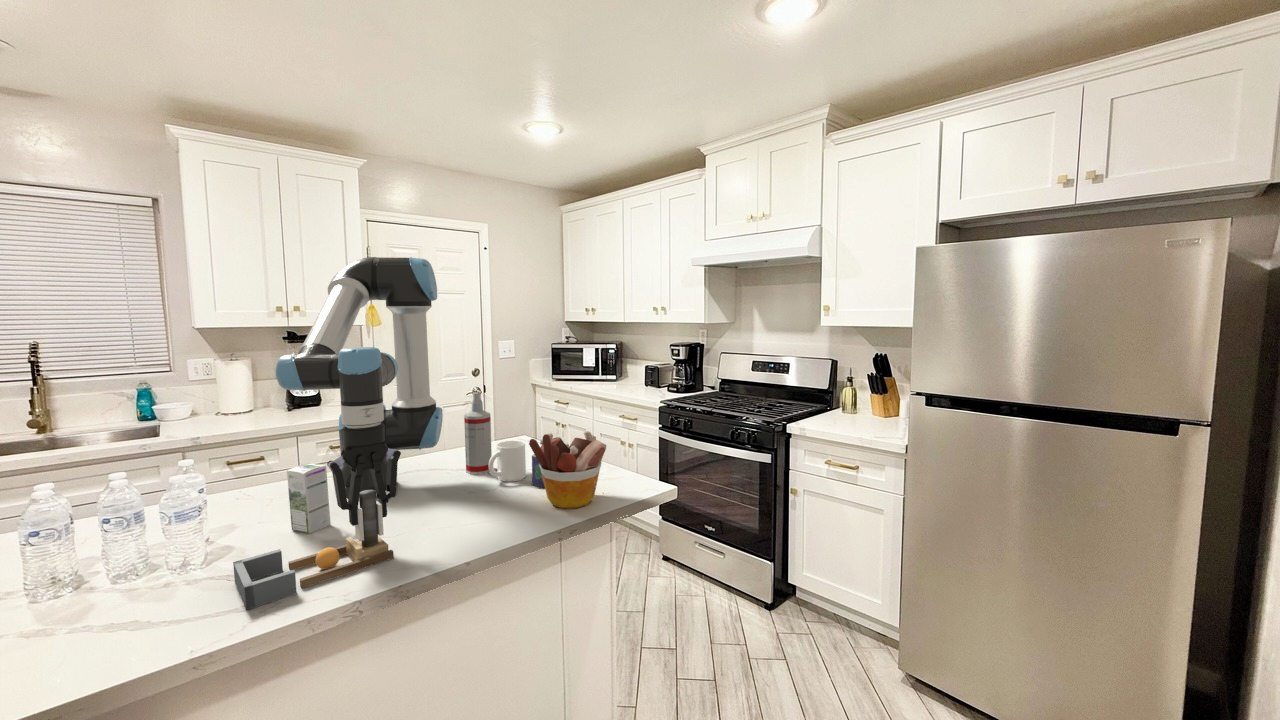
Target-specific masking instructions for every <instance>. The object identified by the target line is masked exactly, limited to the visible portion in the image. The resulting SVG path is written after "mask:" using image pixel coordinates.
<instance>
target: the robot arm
mask: <svg viewBox="0 0 1280 720" xmlns="http://www.w3.org/2000/svg"><path fill="white" fill-rule="evenodd" d="M436 280H437V279H436V276H435V272H434V269H433V267H432V264H431V263H430V261H429V260H427V259H426V258H420V257H412V256H411V257H376V256H370V257H363V258H360V259H357V260H355V261H353V262H350V263H349V264H347V265H346V266H344V267H343V268H342V269H340V270H339V271H338V272H337V273H335V275H334V276H333V278H331V281H330V283H329V285H328V286H327V295H328V296H327V298H326V300H325V302H324V303H323V305H322V307H321V309H320V311H319V313H318V315H317V316H316V319H315V321H314V323H313V324H312V327H311V328H310V331H309V332H308V334H307V336H306V337H305V340H304V342H303V343H302V345H301V347H300V349H299V351H298V352H297V354H294V353H292V354H285V355H283V356H280V357H279V359H278V360H277V362H276V365H275V377H276V380H277V384H278V385H279V387H281V388H282V389H284V390H287V391H289V390H290V391H312V390H314V391H315V390H319V391H320V390H336V389H337V390H339V394H340V395H339V396H340V415H339V416H338V428H337V430H338V437H339V451H340V456H339V457H337V458H336V459H334V460H329V461H327V464H326V465H327V467H328V468H329V470H330V471H331V474H332V480H333V486H334V493H335V498H336V502H337V503H336V504H337V506H338V507H339V509H341V510H342V511H345V510H347V511H348V517H349V518H348V519H349V521H348V522H349V524H350V525H351V526H352V527H354V531H355V538H356V539H357V541H364V530H363V512H362V509H361V508H360V503H359V495H360V492H361V491H365V490H375V491H376V509H377V527H378V536H379V537H380V536H383V535H384V518H387V516H388V503H389V500H390V499H392V498H393V499H394V498H395V497H396V496H397V487H398V486H397V484H398V464H399V463H398V462H399V459H400V457H401V455H402V452H401V451H406V450H422V449H423V450H424V449H432V448H434V447H435V446H437V445H438V442H439V441H440V439H441V438H440V437H441V434H442V433H441V432H442V427H443V420H444V419H443V417H444V415H443V408H441V407H439V406H437V401H436V399H434V398H433V397H432V396H431V392H430V386H431V385H430V369H429V348H428V347H429V346H428V329H427V325H428V323H427V313H428V311H429V310H430V309H431V308H432V305H433V304H432V302H434V301H436V300H437V299H438V285H437V281H436ZM369 301H385V308H386V309H388V310H389V311H390V312H391V313H392V327H393V329H392V330H393V346H394V347H393V348H394V356H392V355H390V354H389V353H387V352H382V351H381V350H380V348H378V347H373V346H358V347H356V346H355V347H354V346H353V347H346V348H344V347H345V344H346V342H347V340H348V338H349V335H350V333H351V330H352V329H353V326H354V324H355V321H356V319H357V318H358V317H357V316H358V315H359V312H360V310H361V308H363V307H365V306H366V305H367V304H368V303H369ZM394 379H395V382H396V383H395V384H396V399H395V400H394V401H393V402H391V409H387V407H386V405H385V404H384V393H383V392H384V391H383V387H385V386H388V385H390V383H392V382H393V380H394Z"/></svg>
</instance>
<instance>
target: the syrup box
mask: <svg viewBox="0 0 1280 720" xmlns="http://www.w3.org/2000/svg"><path fill="white" fill-rule="evenodd" d="M286 476H287V477H286V478H287V488H288V499H289V501H288V502H289V512H290V521H291V522H290V523H291V524H290V525H291V531H294V532H299V533H305V534H312V533H314V532H317V531H319V530H321V529H324V528H325V527H328V526H331V513H330V499H329V498H330V497H329V487H328V473H327V466H326V465H325V464H324V465H323V464H314V463H305V464H301V465H297V466H294V467H292V468H290V469H286Z"/></svg>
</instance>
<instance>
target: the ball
mask: <svg viewBox="0 0 1280 720" xmlns="http://www.w3.org/2000/svg"><path fill="white" fill-rule="evenodd" d="M335 548H336V547H325V548H322V549H321V550H320V551H318V552H317V553H318V554H317V556H316V563H315V564H316V566H317V567H318V568H319V569H322V570H329V569H332V568H335V566H337V564H338V563H339V561H340V556H339V552H338V551H337V550H336V549H335Z"/></svg>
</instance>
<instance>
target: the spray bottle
mask: <svg viewBox="0 0 1280 720" xmlns="http://www.w3.org/2000/svg"><path fill="white" fill-rule="evenodd" d="M481 395H482V393H481V392H472V401H471V410H470V411H468V412H467V413H464V415H463V418H464V423H463V424H464V443H465V445H464V447H465V449H464V450H465V473H466V474H467V473H468V474H467V475H469V474H470V476H481V475H486V473H487V474H489V473H490V471H489V460H490V458H491V456H492V455H493V454H492V453H493V452H492V426H491V425H492V423H491V421H492V419H491V412H489V411H486V410H484V405H483V401H482V397H481Z"/></svg>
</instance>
